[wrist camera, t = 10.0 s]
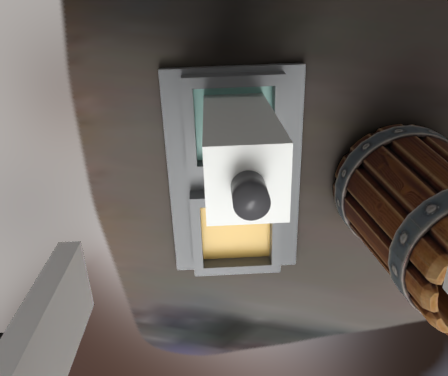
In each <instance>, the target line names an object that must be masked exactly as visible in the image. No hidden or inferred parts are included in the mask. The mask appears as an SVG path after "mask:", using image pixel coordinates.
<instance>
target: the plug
mask: <svg viewBox="0 0 448 376" xmlns="http://www.w3.org/2000/svg"><path fill="white" fill-rule="evenodd" d="M202 153H203V171H204V189H205V207H206V225H207V226H225V225H246V224H268V223H289V222H290V206H291V182H292V158H293V142H292V140H291V139H290V137H289V135H288V134H287V132H286V130H285V129H284V127H283V126H282V124H281V122H280V121H279V119H278V117H277V116H276V114H275V112H274V111H273V109H272V107H271V106H270V104H269V102H268V101H267V99H266V97H265V96H264V94H263V93H245V94H220V95H204V96H203V134H202Z"/></svg>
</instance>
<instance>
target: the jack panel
mask: <svg viewBox="0 0 448 376" xmlns="http://www.w3.org/2000/svg"><path fill="white" fill-rule="evenodd" d="M305 72H306V64H305V63H284V64H258V65H231V66H205V67H178V68H159V69H158V74H159V84H160V95H161V105H162V116H163V127H164V137H165V148H166V158H167V169H168V179H169V190H170V200H171V211H172V221H173V232H174V242H175V253H176V263H177V270H192V269H194V271H195V276H213V275H233V274H253V273H274V272H280V269H281V265H294V264H296V248H297V228H298V209H299V189H300V170H301V150H302V131H303V111H304V92H305ZM245 93H263V94H264V96H265V97H266V99H267V101H268V102H269V104H270V106H271V107H272V109H273V111H274V112H275V114H276V116H277V117H278V119H279V121H280V122H281V124H282V126H283V127H284V129H285V130H286V132H287V134H288V135H289V137H290V139H291V140H292V142H293V158H292V182H291V206H290V222H289V223H268V224H246V225H225V226H207V225H206V207H205V189H204V171H203V153H202V134H203V96H204V95H220V94H245Z"/></svg>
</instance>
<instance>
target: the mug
mask: <svg viewBox="0 0 448 376" xmlns="http://www.w3.org/2000/svg"><path fill="white" fill-rule="evenodd" d="M335 177H336V178H337V179H336V181H335V182H334V184H333V196H334V200H335V204H336V206H337V210H338V213H339V215H340V216H341V218H342V219H343V221H344V222H345V224H346V225H347V226H348V227H349V229H350V230H351V231H352V232H353V233H354V234H355V235H356V236H357V237H358V238H360V239H361V240H362V241H363V242H364V244H365V245H366V246H367V247H368V248H369V250H370V251H371V252H372V253H373V255H374V256H375V257H376V258H377V259H378V261H379V262H380V263H381V264H382V266H383V267H384V268H385V269H386V271H387V272H388V273H389V274H390V275H391V278H392V280H393V281H394V283H395V285H396V286H397V288H398V289H399V291H400V292H401V293H402V294H403V296H404V297H405V298H406V299H407V301H408V302H409V303H410V304H411V306H412V307H414V308H415V309H416V310H417V311H419V312H420V313H421V314H422V315H423V316H424V317H425V318H426V320H427V321H428V322H429V323H430V324H431V325H432V326H433V327H435V328H436V329H437V330H439V331H441V332H443V333H445V334H446V335H448V294H447V293H446V292H445V290H444V289H443V288H442V287H443V283H444V279H445V275H446V271H447V267H448V139H446V138H445V137H444V136H442V135H441V134H439V133H437V132H435V131H433V130H431V129H429V128H425V127H422V126H417V125H413V124H411V125H408V126H404V125H402V124H396V125H389V126H386V127H383V128H379V129H378V130H377V131H376V132H375V133H373V134H370V133H369V134H367V135H366V136H364V137H363V138H361V139H360V140H358V141H357V142H356V143H355V144H354V145H353V146H352V147H351V148H350V151H349V153H348V154H346V155H345V156H344V157H343V158H342V160H341V162H340V164H339V165H338V168H337V171H336V173H335Z"/></svg>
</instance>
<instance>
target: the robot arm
mask: <svg viewBox="0 0 448 376" xmlns="http://www.w3.org/2000/svg"><path fill="white" fill-rule="evenodd" d="M442 288H443V289H444V290H445V292H446V293H447V294H448V267H447V271H446V275H445V279H444V283H443V287H442ZM93 306H94V302H93V297H92V292H91V287H90V282H89V278H88V273H87V268H86V263H85V258H84V254H83V249H82V245H81V242H59V243H58V244H57V246H56V248H55V249H54V251H53V252H52V254H51V256H50V258H49V260H48V261H47V263H46V264H45V266H44V267H43V269H42V271H41V273H40V274H39V276H38V277H37V279H36V281H35V282H34V284H33V286H32V287H31V289H30V291H29V292H28V294H27V296H26V298H25V299H24V301H23V302H22V304H21V305H20V307H19V309H18V310H17V312H16V314H15V315H14V317H13V319H12V321H11V322H10V324H9V325H8V327H7V329H6V331H5V332H4V333H0V376H68V374H69V371H70V368H71V366H72V363H73V360H74V358H75V355H76V352H77V349H78V347H79V344H80V341H81V339H82V336H83V333H84V330H85V328H86V325H87V322H88V320H89V317H90V314H91V311H92V309H93Z"/></svg>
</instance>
